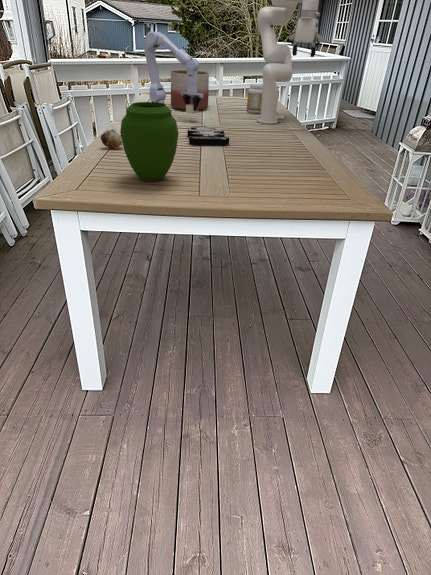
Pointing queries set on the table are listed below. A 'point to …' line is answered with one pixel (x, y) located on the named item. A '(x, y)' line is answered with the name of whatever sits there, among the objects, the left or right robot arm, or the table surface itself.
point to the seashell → (111, 139)
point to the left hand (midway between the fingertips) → (191, 110)
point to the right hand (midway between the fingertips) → (303, 56)
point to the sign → (207, 136)
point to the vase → (149, 139)
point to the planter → (181, 85)
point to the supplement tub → (254, 98)
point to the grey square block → (190, 109)
